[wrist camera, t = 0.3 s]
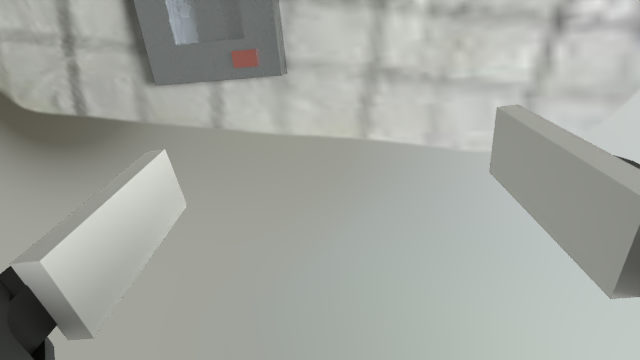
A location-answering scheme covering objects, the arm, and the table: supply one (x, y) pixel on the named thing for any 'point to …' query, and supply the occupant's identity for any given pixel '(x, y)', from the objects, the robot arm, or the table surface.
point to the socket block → (211, 39)
